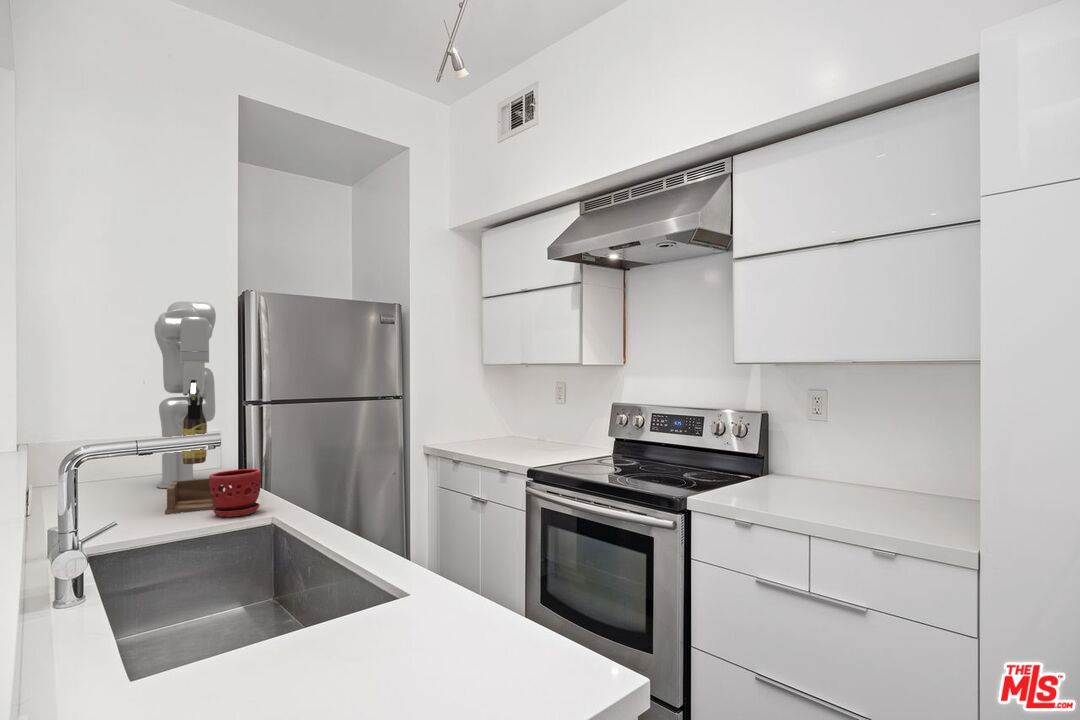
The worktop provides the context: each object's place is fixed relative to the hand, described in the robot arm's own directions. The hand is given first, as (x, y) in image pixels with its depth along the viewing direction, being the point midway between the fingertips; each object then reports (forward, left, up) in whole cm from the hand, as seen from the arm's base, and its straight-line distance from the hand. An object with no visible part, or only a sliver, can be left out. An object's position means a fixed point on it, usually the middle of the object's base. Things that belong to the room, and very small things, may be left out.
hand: (194, 417), depth 176 cm
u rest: (0, 0, -27) cm, 27 cm away
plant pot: (+16, +11, -27) cm, 33 cm away
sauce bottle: (0, 0, -14) cm, 14 cm away
